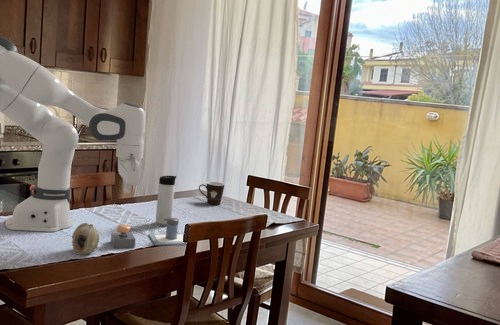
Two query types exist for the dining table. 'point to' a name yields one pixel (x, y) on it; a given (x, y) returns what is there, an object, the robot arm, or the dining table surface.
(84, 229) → the beige rounded piece
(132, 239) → the button housing
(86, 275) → the dining table surface
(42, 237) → the dining table surface
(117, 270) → the dining table surface
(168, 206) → the travel mug
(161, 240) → the board
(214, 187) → the coffee mug
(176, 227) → the blue gray capped jar
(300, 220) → the dining table surface
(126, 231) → the button
